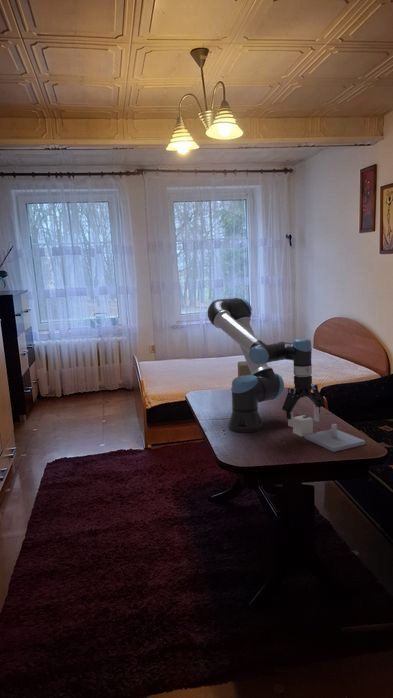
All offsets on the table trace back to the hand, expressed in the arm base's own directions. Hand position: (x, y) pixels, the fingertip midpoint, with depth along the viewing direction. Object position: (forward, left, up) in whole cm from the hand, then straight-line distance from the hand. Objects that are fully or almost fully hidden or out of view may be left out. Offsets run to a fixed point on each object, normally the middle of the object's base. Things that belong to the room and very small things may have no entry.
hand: (303, 423), depth 198 cm
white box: (0, 0, -5) cm, 5 cm away
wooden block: (+13, +68, -5) cm, 70 cm away
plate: (+5, -14, -5) cm, 15 cm away
